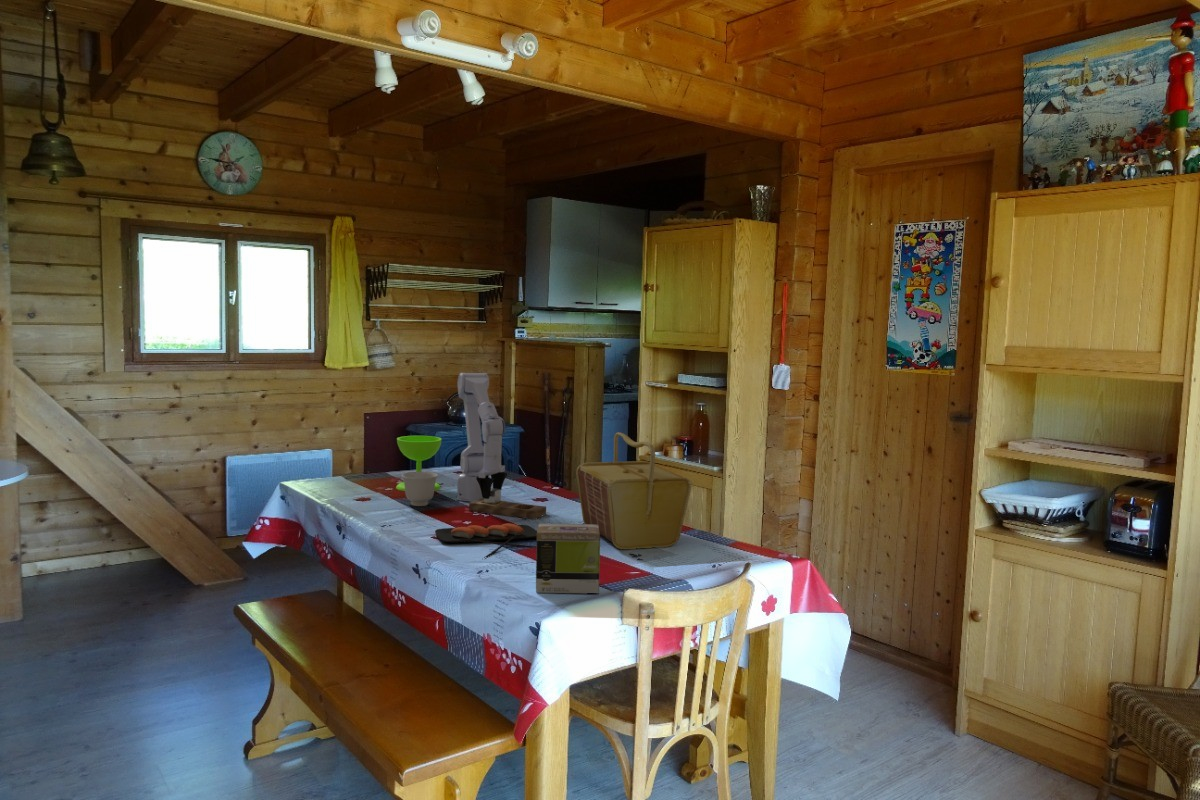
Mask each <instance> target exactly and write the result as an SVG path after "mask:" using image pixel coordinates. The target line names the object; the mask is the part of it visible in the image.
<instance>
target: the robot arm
mask: <svg viewBox="0 0 1200 800" xmlns="http://www.w3.org/2000/svg"><path fill="white" fill-rule="evenodd" d="M456 384H457V393H458V398H459V399H461V400H462V401H463V407H464V417H465V426H466V438H467V440H466V441H467V446H466V448H464V449H463V450H462V451H461V453H460V464H459V465H460V470H461V472H462V473H461V474H459V476H458V479H457V489H456V490H457V492H456V493H457V495H456V496H457V497H456V498H455V499H456V501H462V502H469V503H470V502H473V501H476V500H478V499H484V498H485V499H489V497H490V491H491V488H496V489H501V490H502V488H503V485H504V482H505V480H506V478H507V476H508V472H505V471H506V465H502V445H503V444H502V443H503V440H502V439H503V436H504V435H505V432H506V424H505V420H504V419H503V418H502V417H501V416H499V414H498V412H497V409H496V407H495V404H494V403H493V402H490V398H489V393H488V390H489V388H490V378H489V376H488V373H486V372H482V373H481V372H480V373H478V372H472V373H470V372H469V373H468V372H460V373H459V374H458V377H457V383H456ZM480 420H481V421H480ZM481 423H482V424H481Z"/></svg>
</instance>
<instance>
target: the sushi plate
mask: <svg viewBox="0 0 1200 800" xmlns="http://www.w3.org/2000/svg"><path fill="white" fill-rule="evenodd" d="M434 532H435V535H436V537H437V538H438V539H439V540H440V541H441V542H444V543H455V544H456V543H458V544H459V542H462V543H485V544H494V545H500V546H498V547H497V548H495V549H494V550H493V551H491V552H490V553H488V554H487V555H484V557H483V558H485V557H487V558H489V557H490V555H491V556H492V554H493V555H494V554H495V553H497V552H498V551H499V550H500V549H502V548H503V547H504V546H510V547H517V548H533V547H537V545H527V544H517V543H516V544H514V543H509V542H510V541H512V540H513V539H514V540H525V539H532V538H533V539H534V538H537V530H536V529H535V528H534V527H533V526H531V525H528V524H515V523H509V522H508V523H503V524H501V525H500V524H495V525H493V524H492V525H482V526H481V525H476V524H474V525H473V524H472V525H468V526H458V527H447V528H446V527H445V528H438V529H435V531H434ZM496 540H497V541H505V542H497V541H496ZM488 556H489V557H488ZM485 559H486V558H485Z"/></svg>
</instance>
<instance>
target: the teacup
mask: <svg viewBox="0 0 1200 800" xmlns="http://www.w3.org/2000/svg"><path fill="white" fill-rule="evenodd" d="M401 477H402V478H403V482H404V485H405V491H404V493H405V496H406V498H407V500H409V501H410V505H411V506H415V507H425V506H428V505H429V501H430V500H432V499H433V497H434V494H435V491H434V489H435V483H437V479H438V477H439V474H437V473H436V472H431V471H421V472H416V471H409V472H404V473H402V474H401Z"/></svg>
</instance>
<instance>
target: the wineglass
mask: <svg viewBox="0 0 1200 800" xmlns="http://www.w3.org/2000/svg"><path fill="white" fill-rule="evenodd" d="M442 440H443V439H442V437H437V436H431V435H430V436H429V435H407V436H405V435H404V436H400V437H397V438H396V443H397V446H398V449H399V451H400V452H401V453H402V455H403V456H404V457H406V458H407V459H409V460H412V461H415V462H416V463H415V465H416V466H415V467H416V468H415V472H422V466H423V465H422V463H423V461H427V460H429V459H431V458H432V457H433V456H435V455H436V453H437V452H439V450H440V447H442ZM395 488H396V490H398V491H402V492H405V485H404V481H403V482H400V483H398V484H397V485H396V487H395ZM441 488H442V487H441V485H440V484H439V483H437V482H435V489H434V492H435V491H438V490H440V489H441Z"/></svg>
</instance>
